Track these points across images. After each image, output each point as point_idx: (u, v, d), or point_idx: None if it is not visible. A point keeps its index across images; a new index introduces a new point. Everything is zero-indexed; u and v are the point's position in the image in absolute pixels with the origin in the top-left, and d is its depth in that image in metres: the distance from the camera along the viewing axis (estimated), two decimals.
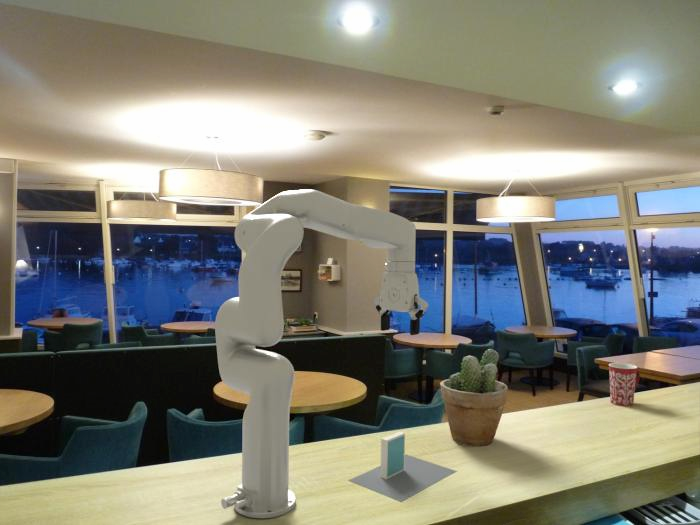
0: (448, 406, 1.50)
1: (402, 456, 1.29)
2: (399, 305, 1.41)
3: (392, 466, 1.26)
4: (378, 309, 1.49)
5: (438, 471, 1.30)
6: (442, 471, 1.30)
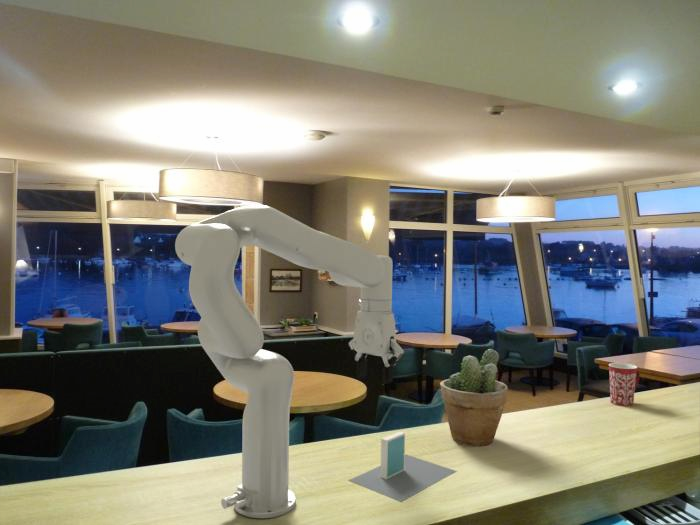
0: (448, 406, 1.50)
1: (402, 456, 1.29)
2: (373, 348, 1.28)
3: (392, 466, 1.26)
4: (354, 353, 1.35)
5: (438, 471, 1.30)
6: (442, 471, 1.30)
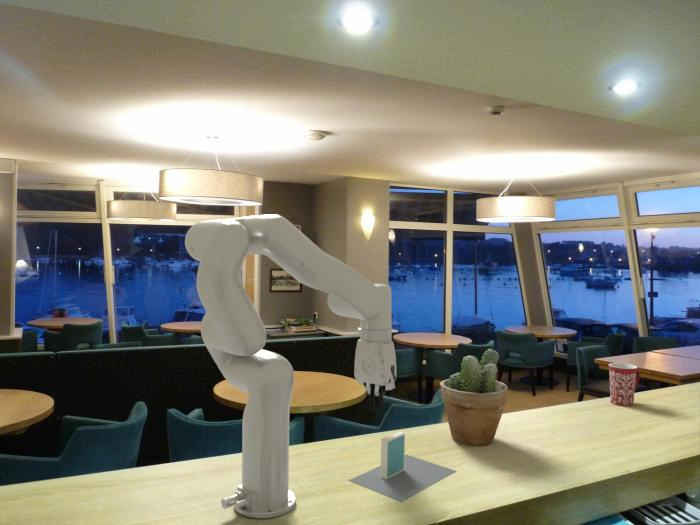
0: (448, 406, 1.50)
1: (402, 456, 1.29)
2: (374, 378, 1.28)
3: (392, 466, 1.26)
4: None
5: (438, 471, 1.30)
6: (442, 471, 1.30)
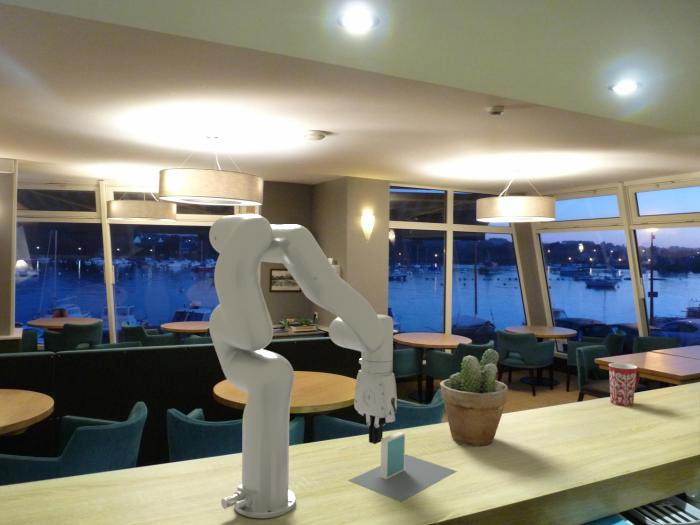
0: (448, 406, 1.50)
1: (402, 456, 1.29)
2: (374, 410, 1.28)
3: (392, 466, 1.26)
4: None
5: (438, 471, 1.30)
6: (442, 471, 1.30)
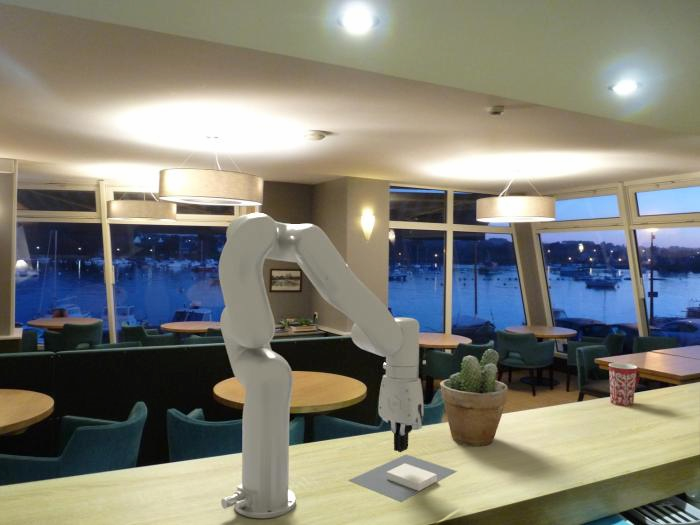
0: (448, 406, 1.50)
1: None
2: (400, 417, 1.23)
3: None
4: (391, 424, 1.27)
5: (438, 471, 1.30)
6: (442, 471, 1.30)
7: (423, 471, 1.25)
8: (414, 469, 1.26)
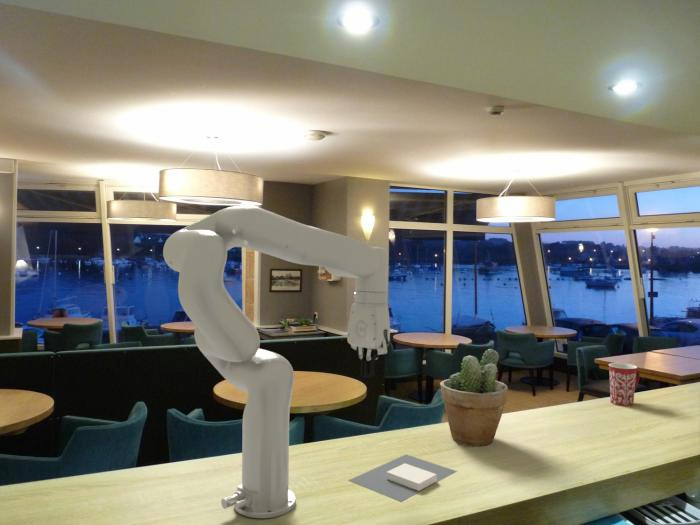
0: (448, 406, 1.50)
1: None
2: (366, 341, 1.26)
3: None
4: (359, 351, 1.30)
5: (438, 471, 1.30)
6: (442, 471, 1.30)
7: (423, 471, 1.25)
8: (414, 469, 1.26)
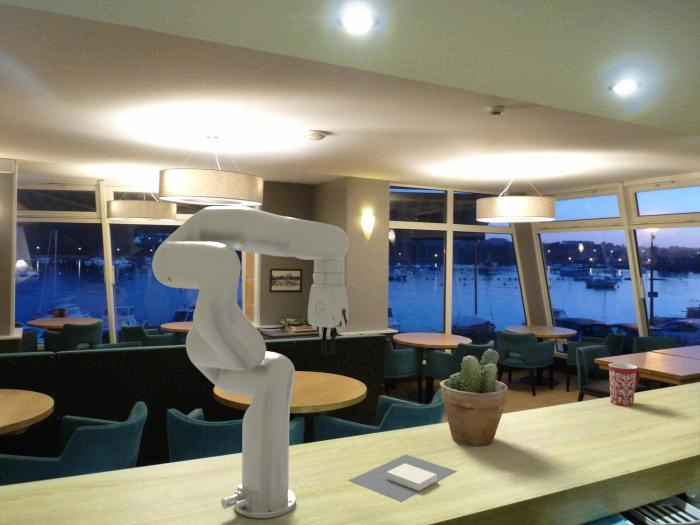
0: (448, 406, 1.50)
1: None
2: (326, 320, 1.30)
3: None
4: (319, 331, 1.35)
5: (438, 471, 1.30)
6: (442, 471, 1.30)
7: (423, 471, 1.25)
8: (414, 469, 1.26)
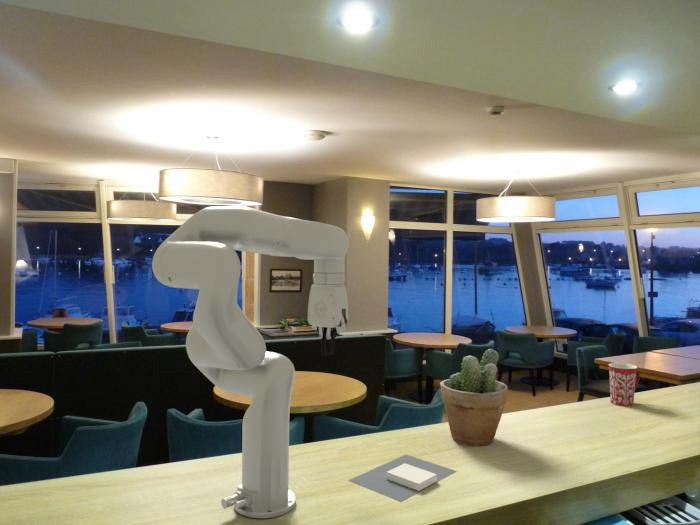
0: (448, 406, 1.50)
1: None
2: (326, 320, 1.30)
3: None
4: (319, 331, 1.35)
5: (438, 471, 1.30)
6: (442, 471, 1.30)
7: (423, 471, 1.25)
8: (414, 469, 1.26)
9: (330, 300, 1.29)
